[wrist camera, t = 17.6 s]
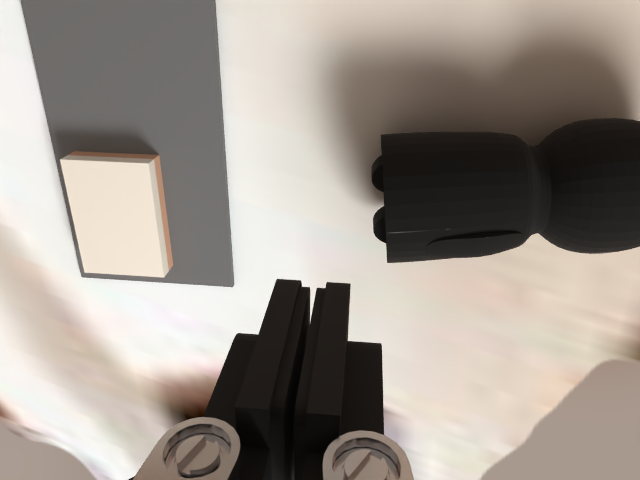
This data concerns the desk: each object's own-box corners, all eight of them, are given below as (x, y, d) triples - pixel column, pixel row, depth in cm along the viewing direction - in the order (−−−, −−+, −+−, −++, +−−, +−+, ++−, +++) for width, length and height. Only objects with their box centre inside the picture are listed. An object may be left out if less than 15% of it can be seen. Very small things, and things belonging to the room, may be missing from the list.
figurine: (377, 289, 38) (670, 278, 35) (370, 212, 30) (741, 191, 28) (373, 192, 43) (627, 176, 40) (367, 106, 36) (677, 80, 33)
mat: (14, -50, 36) (9, -51, 35) (212, -47, 34) (210, -48, 34) (84, 274, 47) (81, 277, 47) (234, 284, 46) (232, 287, 46)
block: (159, 154, 41) (74, 151, 41) (148, 163, 39) (59, 159, 39) (173, 264, 45) (96, 260, 46) (164, 277, 43) (84, 272, 44)
